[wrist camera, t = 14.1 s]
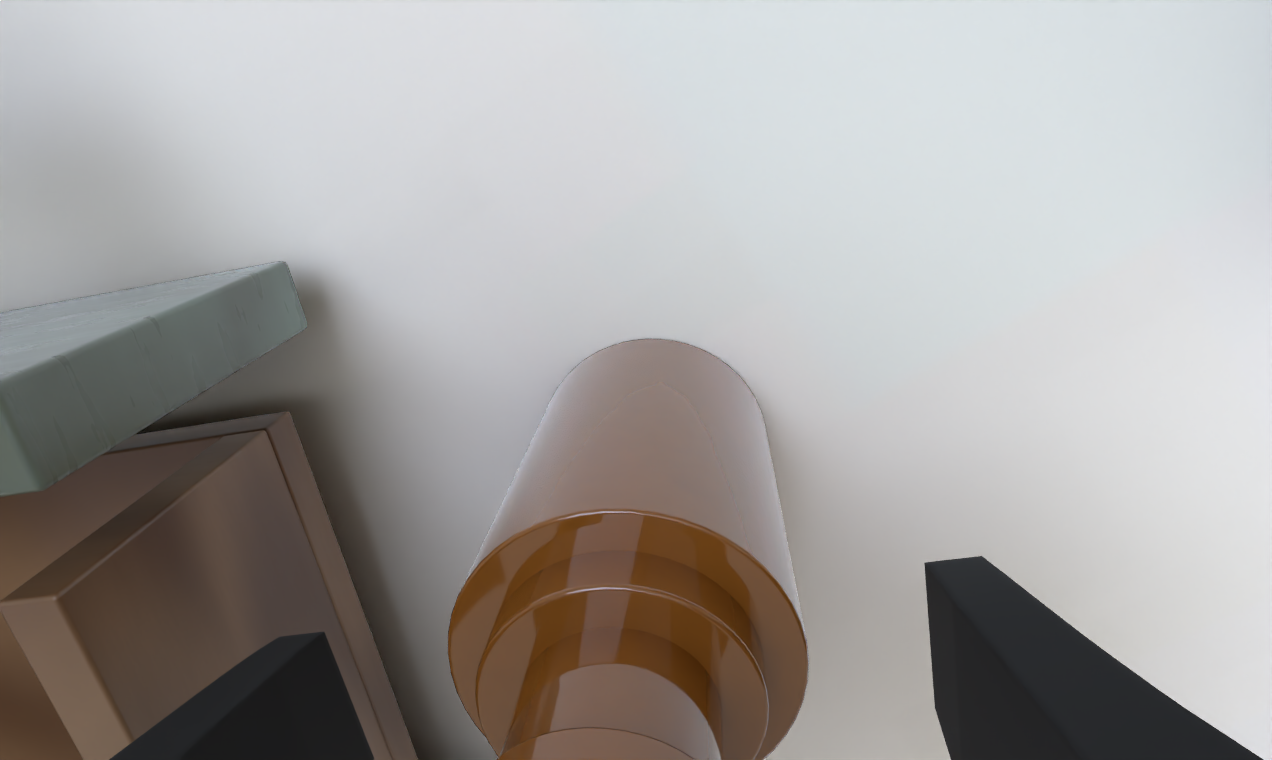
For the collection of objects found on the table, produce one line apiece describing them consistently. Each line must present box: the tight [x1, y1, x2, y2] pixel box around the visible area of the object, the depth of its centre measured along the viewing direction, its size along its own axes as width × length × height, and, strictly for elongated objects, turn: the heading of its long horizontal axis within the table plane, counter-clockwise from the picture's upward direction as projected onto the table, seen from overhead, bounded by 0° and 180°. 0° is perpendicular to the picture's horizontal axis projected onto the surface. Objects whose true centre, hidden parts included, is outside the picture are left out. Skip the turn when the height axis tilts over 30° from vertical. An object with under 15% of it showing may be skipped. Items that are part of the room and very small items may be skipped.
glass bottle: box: [448, 339, 809, 760], centre depth 11 cm, size 4×4×8 cm
